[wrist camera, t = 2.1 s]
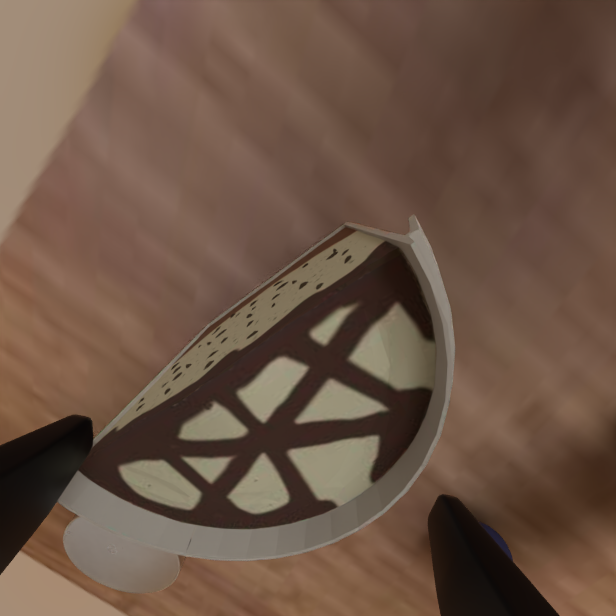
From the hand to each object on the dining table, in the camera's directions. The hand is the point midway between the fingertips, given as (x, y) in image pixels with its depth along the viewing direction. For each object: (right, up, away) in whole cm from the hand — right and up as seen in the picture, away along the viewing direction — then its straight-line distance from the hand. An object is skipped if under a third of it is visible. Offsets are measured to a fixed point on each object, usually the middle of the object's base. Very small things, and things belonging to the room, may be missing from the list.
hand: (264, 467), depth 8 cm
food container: (+1, +3, +9) cm, 10 cm away
